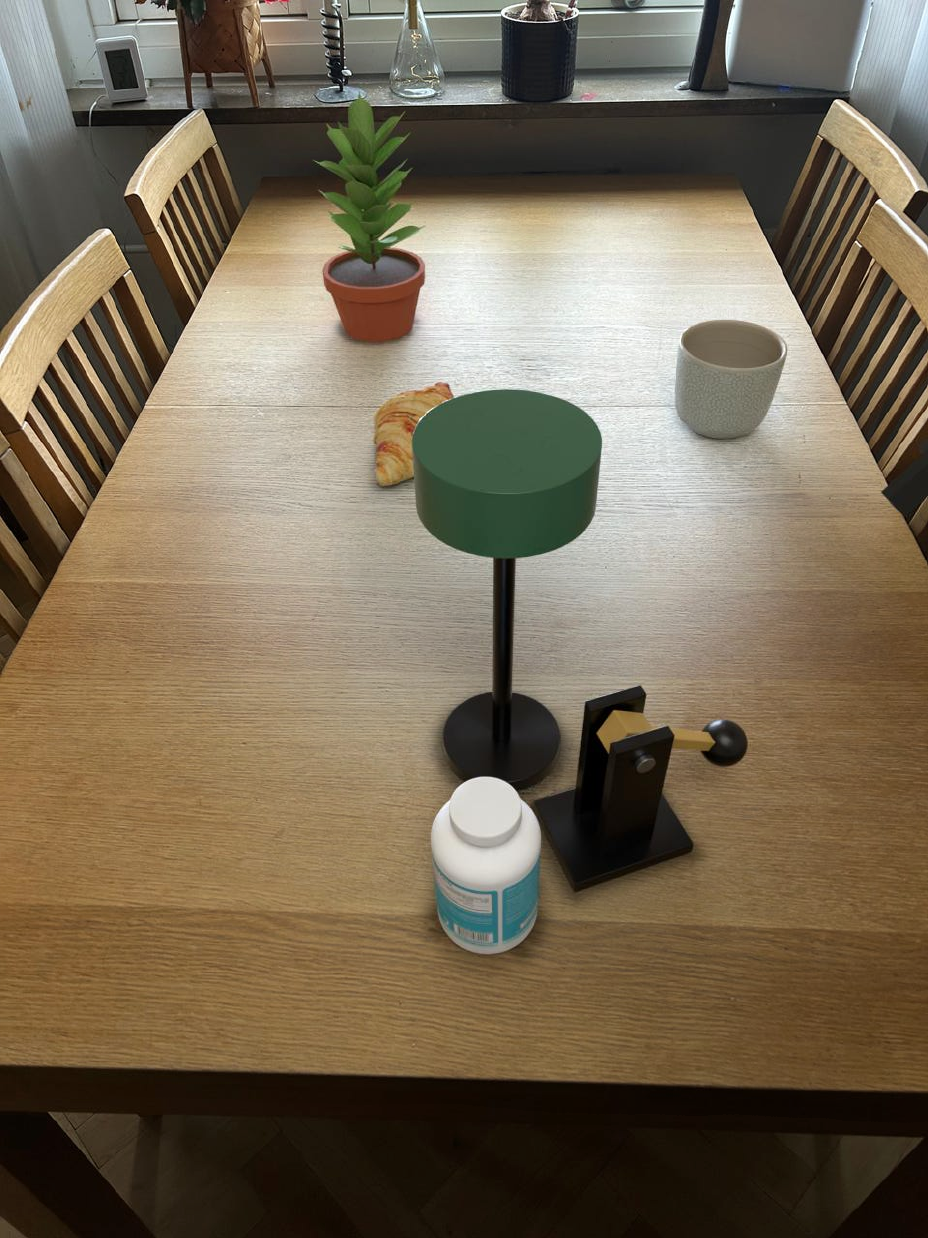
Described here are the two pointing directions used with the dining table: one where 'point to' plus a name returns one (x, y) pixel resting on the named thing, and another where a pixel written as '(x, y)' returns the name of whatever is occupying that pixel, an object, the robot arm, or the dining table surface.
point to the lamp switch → (683, 736)
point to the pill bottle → (486, 866)
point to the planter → (727, 376)
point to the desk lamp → (505, 545)
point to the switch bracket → (614, 801)
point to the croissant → (402, 430)
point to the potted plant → (371, 235)
